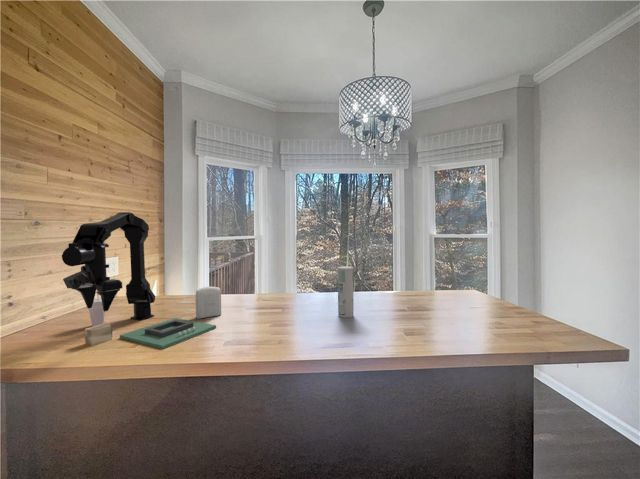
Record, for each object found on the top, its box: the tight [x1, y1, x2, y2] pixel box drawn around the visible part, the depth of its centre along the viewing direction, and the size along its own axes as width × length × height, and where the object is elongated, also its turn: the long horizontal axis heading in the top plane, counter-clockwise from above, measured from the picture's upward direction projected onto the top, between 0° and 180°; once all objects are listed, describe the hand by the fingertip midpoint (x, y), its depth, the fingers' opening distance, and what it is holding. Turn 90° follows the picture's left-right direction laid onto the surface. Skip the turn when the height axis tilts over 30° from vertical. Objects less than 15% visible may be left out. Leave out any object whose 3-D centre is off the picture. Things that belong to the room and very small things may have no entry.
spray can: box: [337, 265, 355, 319], centre depth 132 cm, size 6×6×20 cm
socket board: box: [119, 317, 217, 350], centre depth 114 cm, size 22×22×2 cm
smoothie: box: [88, 290, 106, 327], centre depth 123 cm, size 6×6×14 cm
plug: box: [84, 323, 113, 347], centre depth 106 cm, size 4×7×5 cm, turn 153°
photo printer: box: [195, 286, 222, 320], centre depth 134 cm, size 10×4×12 cm, turn 123°
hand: (97, 309), depth 106 cm, fingers open, 9 cm apart
